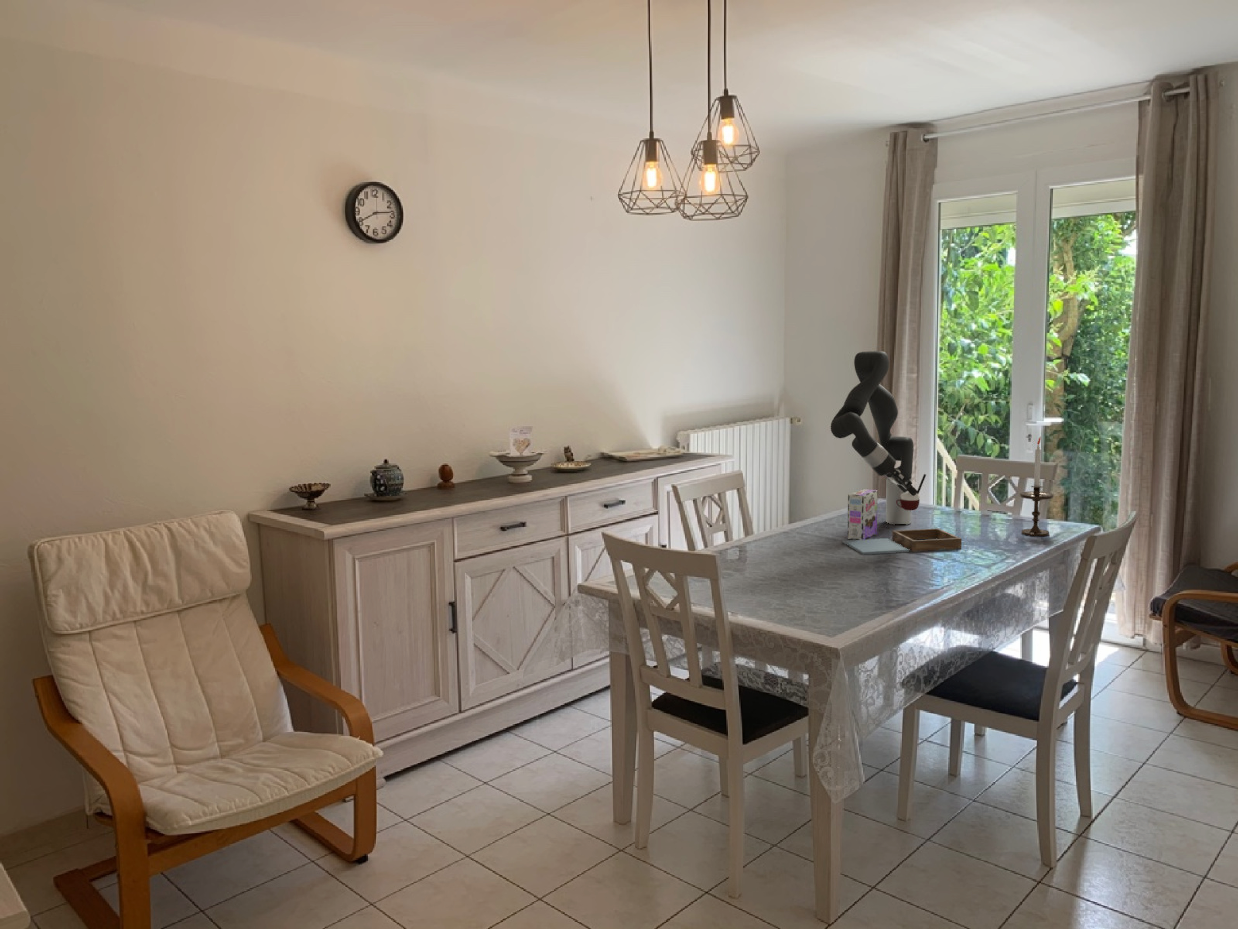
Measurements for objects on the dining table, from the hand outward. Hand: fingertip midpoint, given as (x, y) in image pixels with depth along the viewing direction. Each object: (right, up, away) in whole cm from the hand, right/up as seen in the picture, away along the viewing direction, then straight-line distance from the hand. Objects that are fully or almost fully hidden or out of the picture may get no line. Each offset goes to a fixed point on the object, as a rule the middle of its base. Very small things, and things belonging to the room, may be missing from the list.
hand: (911, 492), depth 315 cm
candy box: (-12, -17, +18) cm, 28 cm away
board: (-12, -19, +1) cm, 22 cm away
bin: (+6, -18, +3) cm, 19 cm away
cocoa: (0, -6, +1) cm, 6 cm away
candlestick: (+49, -15, +15) cm, 54 cm away
